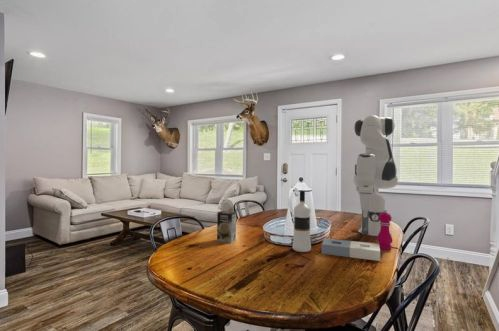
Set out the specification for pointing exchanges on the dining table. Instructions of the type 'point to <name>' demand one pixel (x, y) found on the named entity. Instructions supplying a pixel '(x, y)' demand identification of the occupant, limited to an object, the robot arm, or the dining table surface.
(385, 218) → the pepper mill
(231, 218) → the coffee box
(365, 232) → the lock pin
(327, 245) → the pin board
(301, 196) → the vodka
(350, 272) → the dining table surface
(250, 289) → the dining table surface
